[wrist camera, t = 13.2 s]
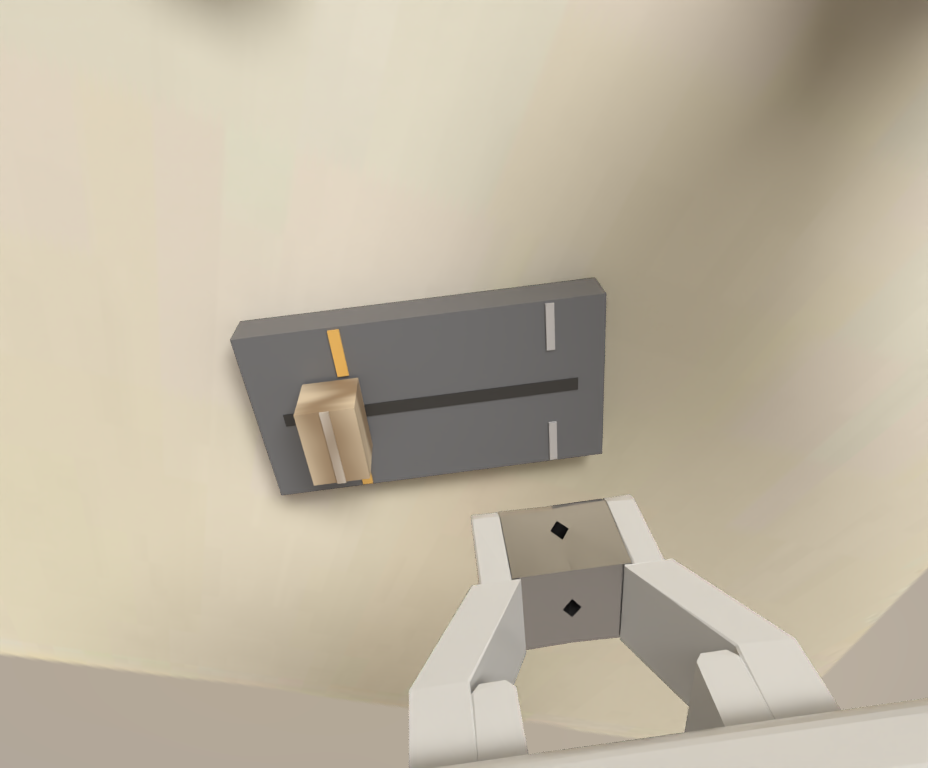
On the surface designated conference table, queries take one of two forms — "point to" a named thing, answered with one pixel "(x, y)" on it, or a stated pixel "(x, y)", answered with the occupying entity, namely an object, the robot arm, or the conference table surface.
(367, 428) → the fader tab
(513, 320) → the fader console
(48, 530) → the conference table surface
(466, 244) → the conference table surface
